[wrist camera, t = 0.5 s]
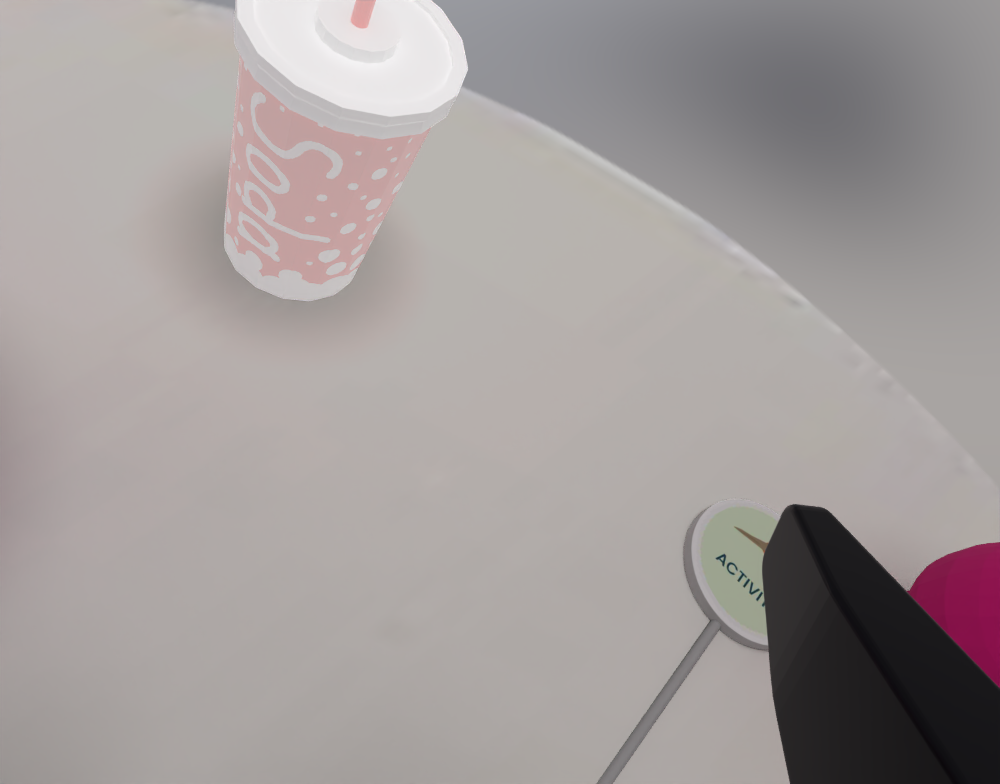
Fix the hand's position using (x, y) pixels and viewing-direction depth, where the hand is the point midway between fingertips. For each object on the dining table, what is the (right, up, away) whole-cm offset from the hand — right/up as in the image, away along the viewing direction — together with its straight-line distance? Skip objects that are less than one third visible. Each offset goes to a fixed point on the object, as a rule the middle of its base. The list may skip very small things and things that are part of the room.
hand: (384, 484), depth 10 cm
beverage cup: (-6, +6, +20) cm, 22 cm away
